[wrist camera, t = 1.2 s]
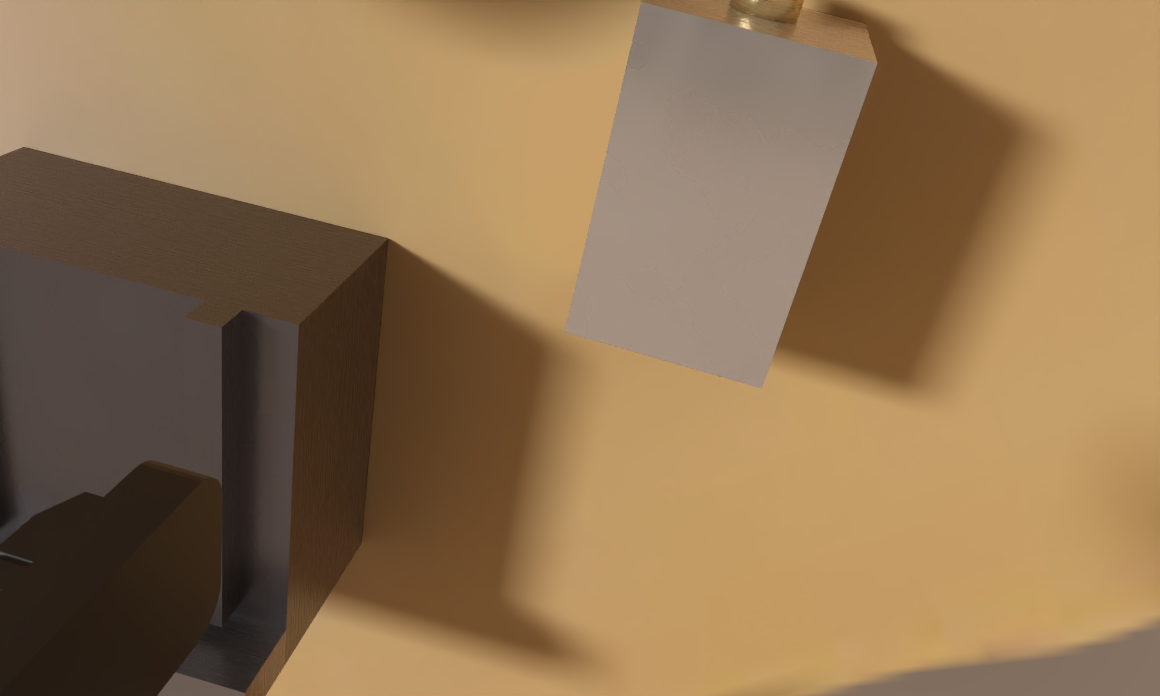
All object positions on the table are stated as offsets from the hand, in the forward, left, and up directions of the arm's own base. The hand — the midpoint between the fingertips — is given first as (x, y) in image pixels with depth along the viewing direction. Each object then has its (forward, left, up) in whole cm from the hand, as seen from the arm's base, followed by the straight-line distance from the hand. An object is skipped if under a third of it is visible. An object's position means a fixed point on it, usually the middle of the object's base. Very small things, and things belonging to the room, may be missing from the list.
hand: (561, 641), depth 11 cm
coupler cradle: (+11, -15, -19) cm, 26 cm away
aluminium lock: (0, 0, -19) cm, 19 cm away
